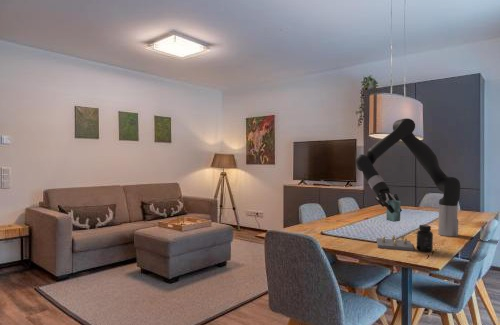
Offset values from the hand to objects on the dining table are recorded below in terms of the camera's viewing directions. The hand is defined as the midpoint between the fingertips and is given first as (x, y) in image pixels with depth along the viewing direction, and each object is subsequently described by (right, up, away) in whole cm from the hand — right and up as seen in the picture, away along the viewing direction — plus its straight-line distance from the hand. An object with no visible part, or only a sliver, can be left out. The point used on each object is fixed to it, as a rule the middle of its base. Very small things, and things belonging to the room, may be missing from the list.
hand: (396, 211), depth 171 cm
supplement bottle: (+10, -18, -7) cm, 22 cm away
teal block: (-1, -5, +2) cm, 5 cm away
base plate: (-1, -17, +1) cm, 17 cm away
